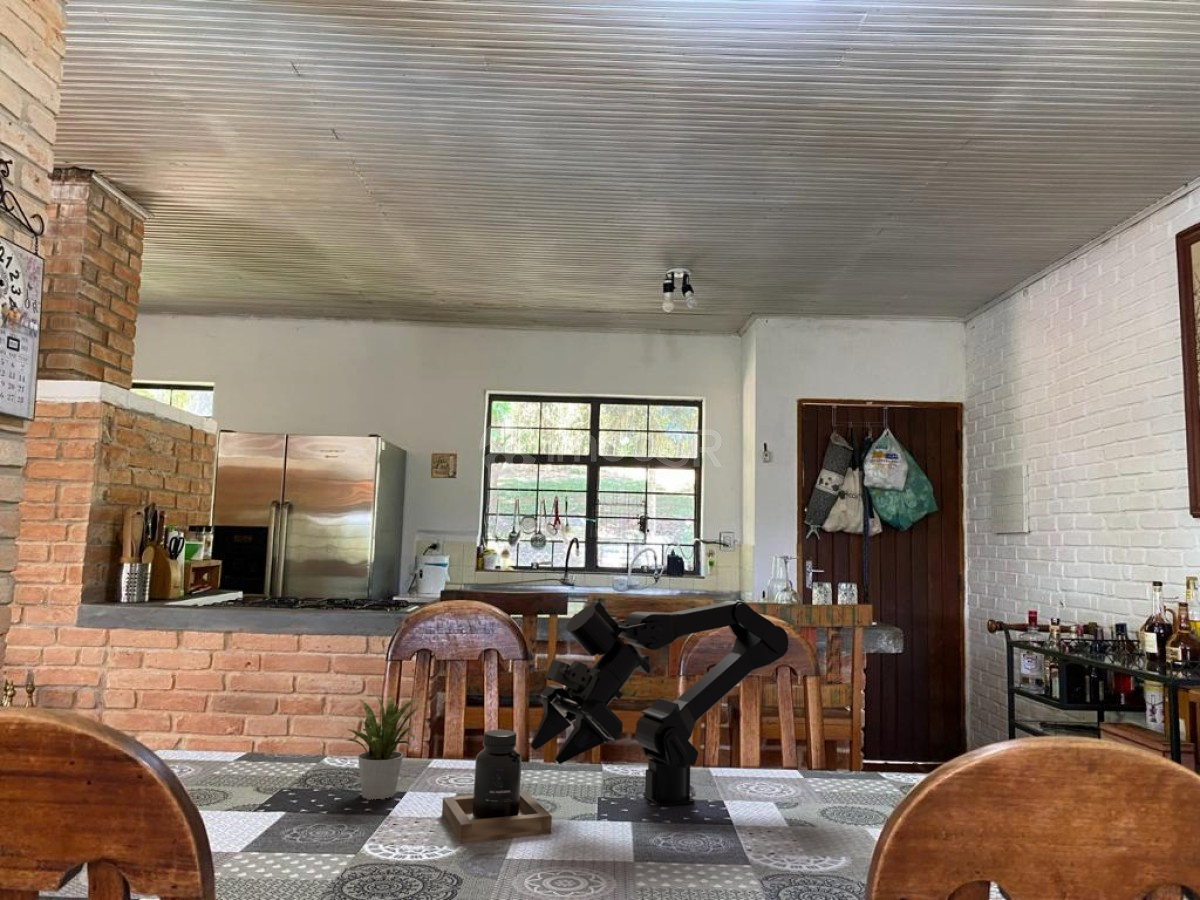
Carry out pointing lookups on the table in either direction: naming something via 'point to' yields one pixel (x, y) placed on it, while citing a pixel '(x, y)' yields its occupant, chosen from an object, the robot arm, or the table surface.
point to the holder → (495, 820)
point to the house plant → (382, 750)
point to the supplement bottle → (497, 776)
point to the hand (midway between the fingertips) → (544, 754)
